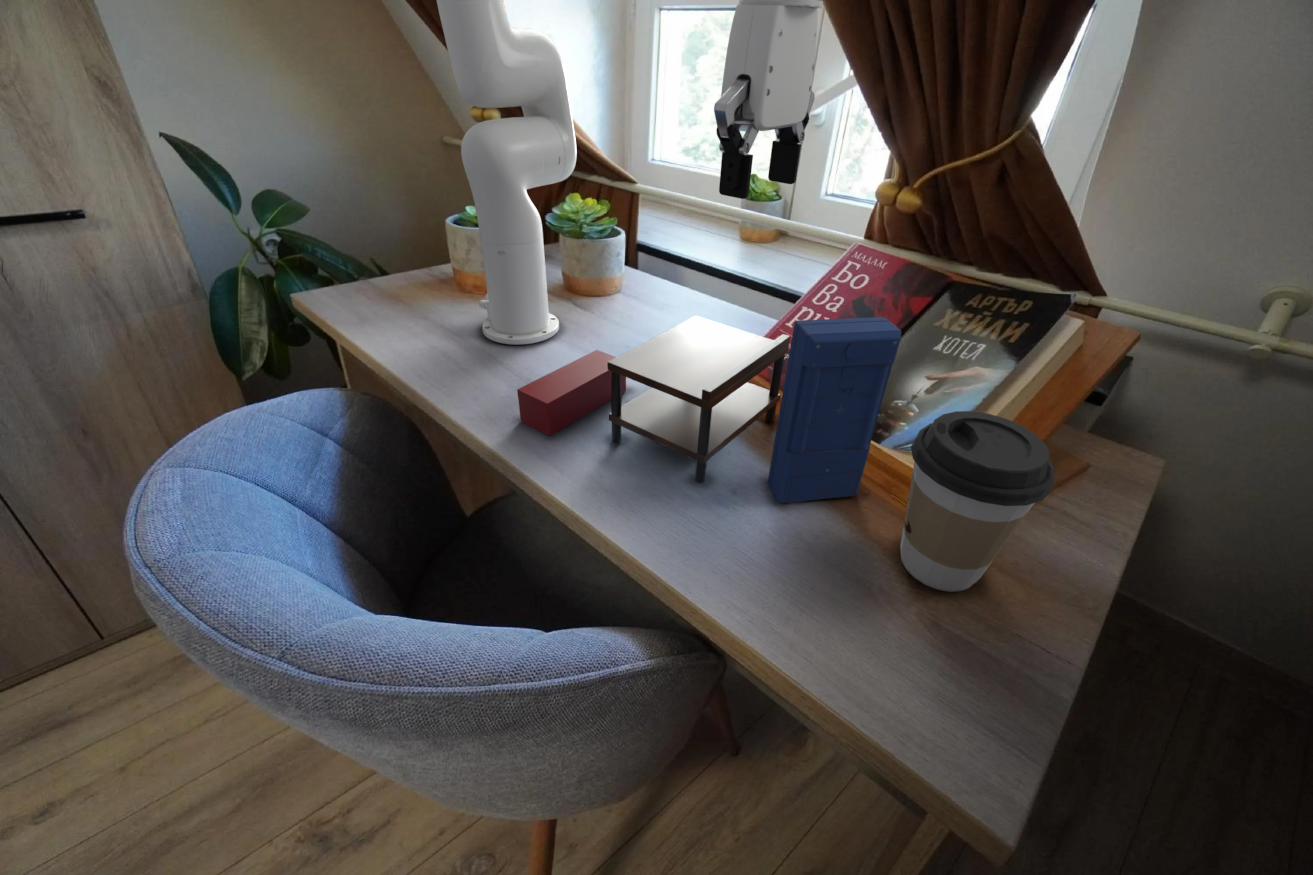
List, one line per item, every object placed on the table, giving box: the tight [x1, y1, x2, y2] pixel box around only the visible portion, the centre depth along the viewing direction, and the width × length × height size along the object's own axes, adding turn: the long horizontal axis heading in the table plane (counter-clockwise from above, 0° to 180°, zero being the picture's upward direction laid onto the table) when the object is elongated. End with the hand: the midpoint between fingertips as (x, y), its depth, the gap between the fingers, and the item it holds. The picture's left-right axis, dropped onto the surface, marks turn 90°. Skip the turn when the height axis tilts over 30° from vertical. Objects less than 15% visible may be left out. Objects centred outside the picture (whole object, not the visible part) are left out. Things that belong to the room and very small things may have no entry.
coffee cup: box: [899, 410, 1056, 593], centre depth 55 cm, size 11×11×15 cm
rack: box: [608, 315, 791, 484], centre depth 75 cm, size 14×18×12 cm
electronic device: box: [767, 316, 902, 503], centre depth 63 cm, size 10×5×20 cm, turn 100°
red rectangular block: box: [516, 349, 627, 437], centre depth 81 cm, size 5×15×5 cm, turn 143°
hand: (758, 188), depth 64 cm, fingers open, 9 cm apart
